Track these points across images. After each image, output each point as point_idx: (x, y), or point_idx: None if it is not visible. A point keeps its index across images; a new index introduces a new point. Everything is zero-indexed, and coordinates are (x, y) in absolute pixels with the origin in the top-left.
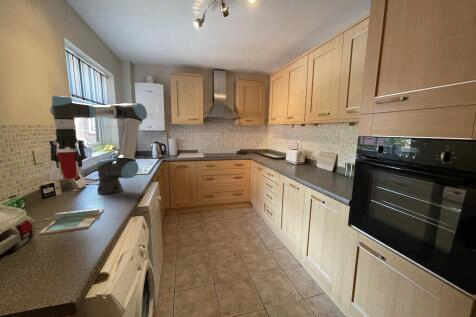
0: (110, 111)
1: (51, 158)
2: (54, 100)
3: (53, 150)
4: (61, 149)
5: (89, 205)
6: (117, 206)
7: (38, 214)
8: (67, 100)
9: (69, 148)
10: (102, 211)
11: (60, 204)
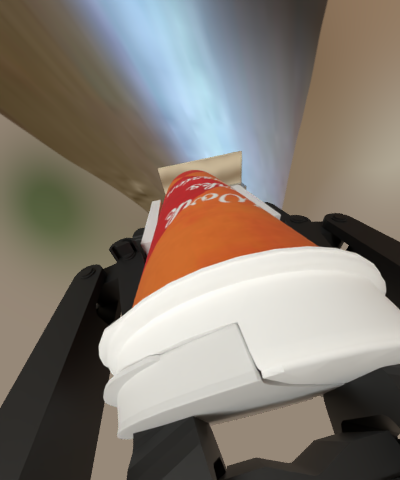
0: None
1: (103, 311)
2: None
3: (100, 419)
4: (239, 417)
5: (178, 89)
6: (266, 119)
7: (79, 156)
8: None
9: (297, 393)
10: (240, 161)
11: (42, 44)
